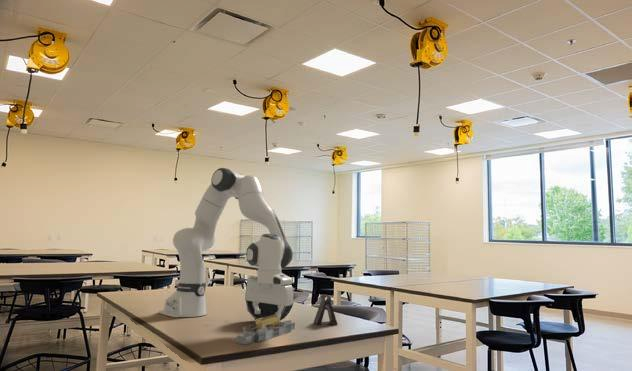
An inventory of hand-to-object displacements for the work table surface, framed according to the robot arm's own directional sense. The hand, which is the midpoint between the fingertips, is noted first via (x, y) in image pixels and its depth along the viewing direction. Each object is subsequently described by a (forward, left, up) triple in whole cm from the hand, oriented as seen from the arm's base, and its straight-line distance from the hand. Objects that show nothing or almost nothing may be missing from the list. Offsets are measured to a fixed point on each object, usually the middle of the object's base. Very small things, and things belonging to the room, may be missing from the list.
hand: (267, 315), depth 157 cm
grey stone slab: (0, 0, -7) cm, 7 cm away
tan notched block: (0, 0, -7) cm, 7 cm away
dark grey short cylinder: (-13, +18, -7) cm, 23 cm away
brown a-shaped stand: (+7, +31, -7) cm, 33 cm away
